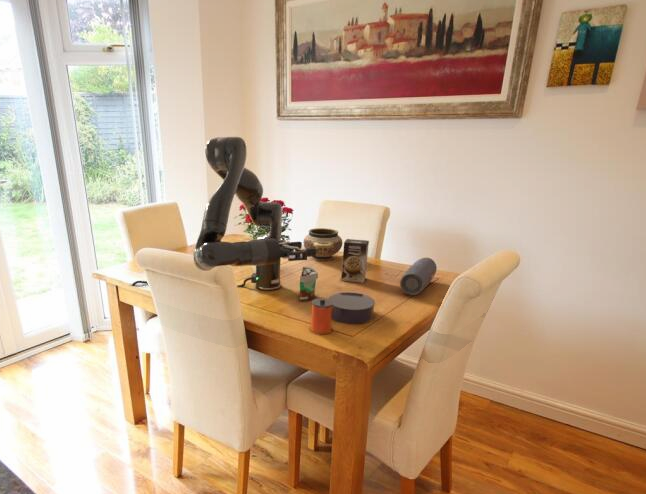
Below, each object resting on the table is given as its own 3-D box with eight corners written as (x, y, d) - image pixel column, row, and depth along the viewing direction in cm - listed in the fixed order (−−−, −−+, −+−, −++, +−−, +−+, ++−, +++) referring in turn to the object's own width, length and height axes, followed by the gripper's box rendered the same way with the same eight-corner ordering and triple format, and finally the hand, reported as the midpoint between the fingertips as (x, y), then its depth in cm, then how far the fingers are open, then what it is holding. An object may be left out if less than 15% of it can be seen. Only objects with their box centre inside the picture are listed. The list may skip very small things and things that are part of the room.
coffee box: (340, 280, 187) (343, 242, 181) (343, 275, 193) (346, 238, 187) (363, 283, 184) (366, 244, 178) (365, 278, 190) (369, 239, 183)
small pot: (307, 331, 145) (308, 301, 141) (315, 323, 150) (316, 294, 146) (327, 335, 142) (328, 304, 138) (334, 327, 147) (336, 297, 143)
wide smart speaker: (328, 322, 150) (328, 308, 148) (326, 304, 164) (327, 291, 162) (376, 324, 148) (377, 310, 146) (370, 306, 162) (372, 293, 160)
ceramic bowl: (334, 272, 206) (344, 240, 200) (296, 260, 208) (305, 229, 202) (337, 256, 228) (346, 228, 221) (302, 246, 230) (311, 218, 224)
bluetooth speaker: (423, 300, 166) (427, 274, 162) (397, 295, 171) (400, 270, 167) (436, 281, 183) (440, 257, 180) (412, 278, 188) (415, 254, 184)
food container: (316, 303, 166) (317, 277, 162) (299, 302, 167) (300, 276, 163) (317, 291, 177) (319, 266, 173) (301, 290, 178) (302, 266, 174)
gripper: (273, 245, 127) (322, 242, 134) (251, 234, 139) (297, 231, 146) (271, 271, 130) (319, 266, 136) (250, 258, 142) (295, 254, 148)
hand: (308, 248), depth 141 cm, fingers open, 8 cm apart
